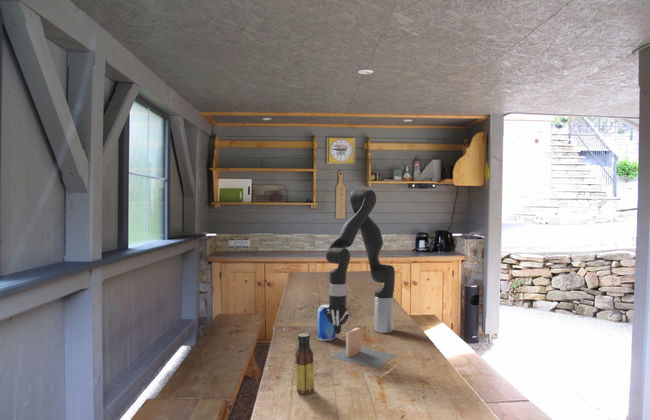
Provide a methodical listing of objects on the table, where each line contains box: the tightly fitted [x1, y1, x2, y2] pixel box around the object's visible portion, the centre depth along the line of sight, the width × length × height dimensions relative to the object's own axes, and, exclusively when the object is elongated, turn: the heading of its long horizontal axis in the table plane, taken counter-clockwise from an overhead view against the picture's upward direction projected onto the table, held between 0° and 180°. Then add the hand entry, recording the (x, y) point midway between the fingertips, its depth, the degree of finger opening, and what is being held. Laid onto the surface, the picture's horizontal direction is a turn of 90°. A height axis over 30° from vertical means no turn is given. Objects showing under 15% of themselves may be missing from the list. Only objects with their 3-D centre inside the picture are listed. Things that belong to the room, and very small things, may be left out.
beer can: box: [317, 303, 337, 342], centre depth 217 cm, size 8×8×16 cm
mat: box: [329, 347, 398, 369], centre depth 193 cm, size 18×22×1 cm
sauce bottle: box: [295, 332, 315, 396], centre depth 159 cm, size 7×6×20 cm
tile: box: [345, 327, 361, 357], centre depth 196 cm, size 9×2×10 cm, turn 147°
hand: (337, 333), depth 200 cm, fingers closed
